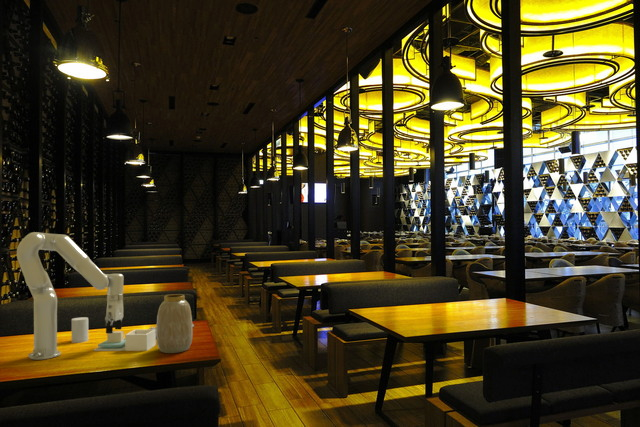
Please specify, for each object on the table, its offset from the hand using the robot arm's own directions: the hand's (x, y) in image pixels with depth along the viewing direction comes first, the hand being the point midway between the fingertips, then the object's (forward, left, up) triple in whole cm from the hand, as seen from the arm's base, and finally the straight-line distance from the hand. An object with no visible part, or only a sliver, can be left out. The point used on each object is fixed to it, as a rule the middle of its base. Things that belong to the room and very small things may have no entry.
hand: (113, 331), depth 238 cm
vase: (-6, -34, -8) cm, 35 cm away
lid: (0, -1, -8) cm, 8 cm away
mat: (0, -1, -8) cm, 8 cm away
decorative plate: (+32, -17, -9) cm, 38 cm away
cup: (+13, +25, -8) cm, 30 cm away
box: (-2, -15, -8) cm, 17 cm away
